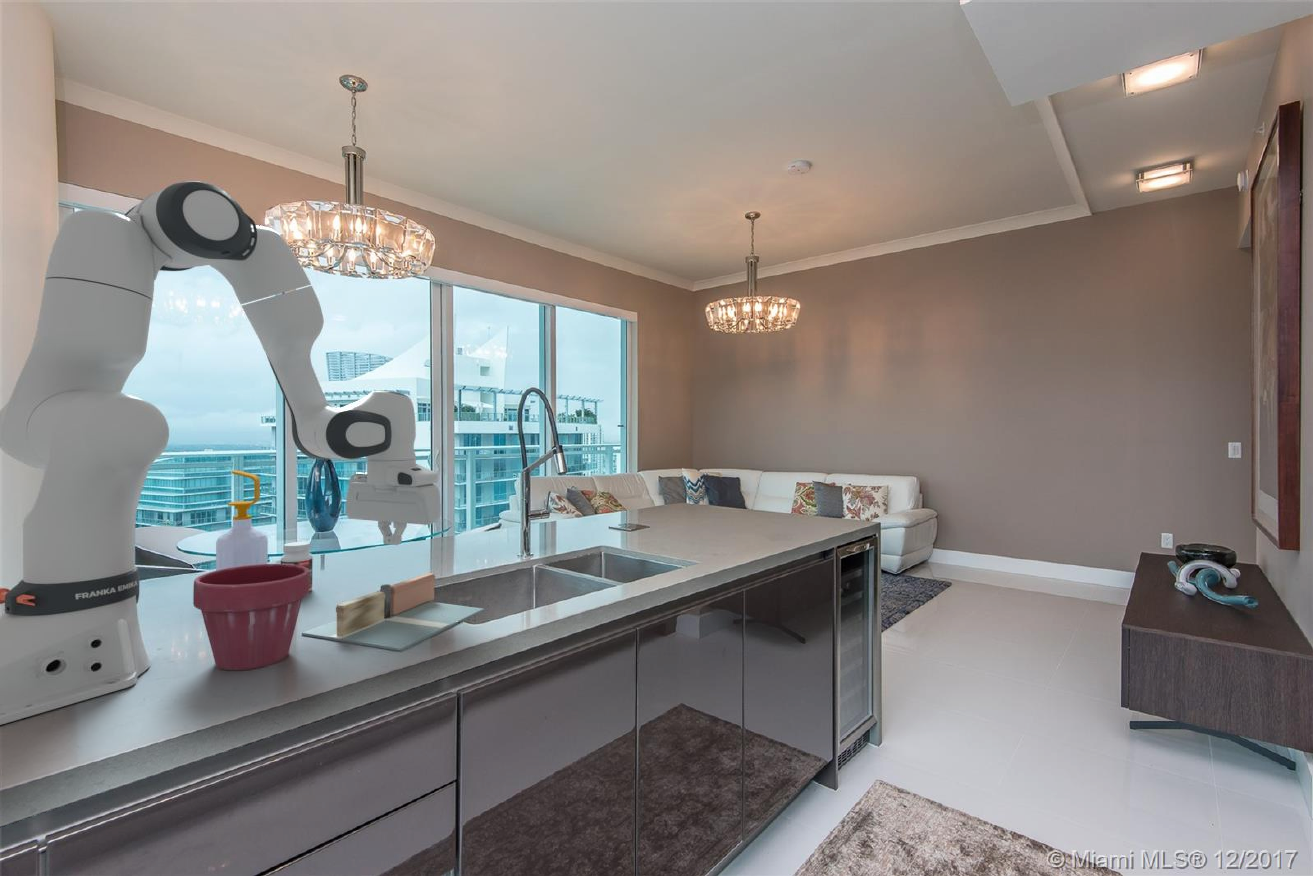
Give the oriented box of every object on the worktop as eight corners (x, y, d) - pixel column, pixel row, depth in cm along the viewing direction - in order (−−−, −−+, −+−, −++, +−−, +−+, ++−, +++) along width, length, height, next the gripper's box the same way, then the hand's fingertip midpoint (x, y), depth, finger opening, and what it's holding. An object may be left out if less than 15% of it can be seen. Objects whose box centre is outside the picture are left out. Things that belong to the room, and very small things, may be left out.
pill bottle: (301, 595, 123) (301, 546, 123) (274, 595, 123) (274, 546, 123) (318, 588, 129) (318, 541, 129) (291, 587, 129) (291, 540, 129)
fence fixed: (344, 636, 99) (344, 606, 99) (335, 635, 100) (335, 605, 100) (385, 620, 108) (385, 592, 108) (376, 619, 108) (377, 591, 108)
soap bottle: (221, 582, 132) (221, 469, 131) (270, 579, 135) (270, 468, 135) (211, 593, 123) (211, 472, 123) (264, 589, 127) (264, 471, 127)
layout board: (400, 651, 94) (400, 648, 94) (301, 635, 101) (301, 632, 101) (483, 610, 115) (483, 608, 115) (397, 599, 122) (397, 597, 122)
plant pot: (312, 637, 100) (313, 559, 100) (304, 668, 87) (304, 579, 87) (206, 649, 94) (206, 566, 94) (180, 685, 81) (180, 589, 81)
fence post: (385, 619, 108) (385, 587, 108) (378, 618, 108) (378, 586, 108) (392, 617, 109) (392, 585, 109) (384, 616, 110) (385, 584, 110)
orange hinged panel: (394, 615, 110) (394, 587, 110) (386, 614, 110) (386, 586, 110) (434, 598, 120) (435, 573, 120) (427, 598, 121) (427, 572, 121)
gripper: (337, 473, 120) (338, 543, 120) (423, 477, 113) (424, 551, 114) (361, 470, 126) (362, 537, 126) (445, 474, 119) (445, 544, 120)
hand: (392, 544), depth 120 cm, fingers closed
